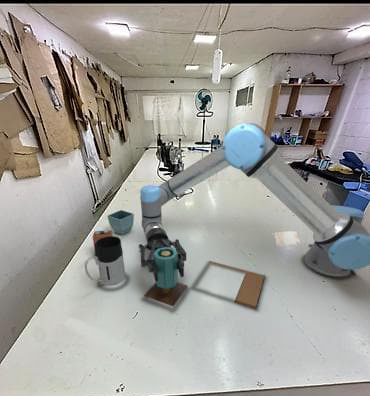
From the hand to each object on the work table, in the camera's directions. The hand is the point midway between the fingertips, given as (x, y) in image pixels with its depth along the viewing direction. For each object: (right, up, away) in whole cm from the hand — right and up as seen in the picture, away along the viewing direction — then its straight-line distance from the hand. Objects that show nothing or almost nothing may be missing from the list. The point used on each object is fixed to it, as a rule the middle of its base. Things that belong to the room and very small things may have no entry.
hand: (169, 274), depth 64 cm
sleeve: (-1, -4, +7) cm, 8 cm away
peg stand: (-1, -8, +9) cm, 12 cm away
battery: (-28, +2, +31) cm, 41 cm away
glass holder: (-21, -7, +12) cm, 25 cm away
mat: (+19, -6, +14) cm, 24 cm away
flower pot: (-26, +9, +48) cm, 55 cm away
